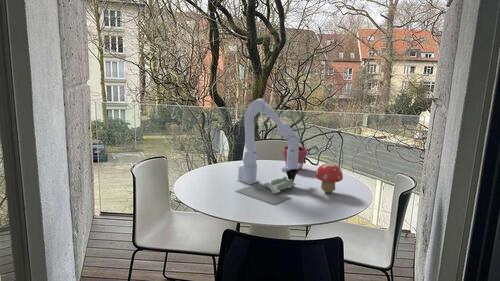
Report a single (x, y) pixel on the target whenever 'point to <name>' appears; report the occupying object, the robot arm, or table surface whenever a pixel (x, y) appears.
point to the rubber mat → (263, 195)
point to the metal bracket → (279, 184)
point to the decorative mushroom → (329, 176)
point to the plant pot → (301, 155)
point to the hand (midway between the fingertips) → (290, 182)
